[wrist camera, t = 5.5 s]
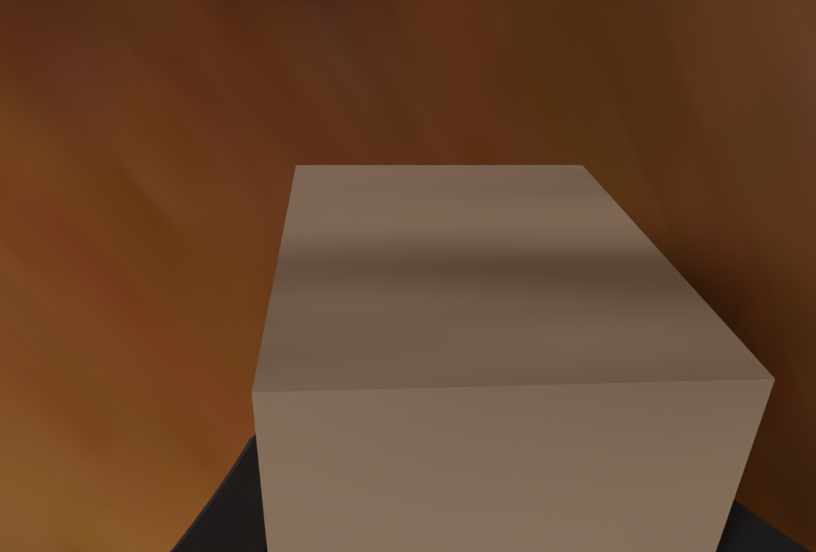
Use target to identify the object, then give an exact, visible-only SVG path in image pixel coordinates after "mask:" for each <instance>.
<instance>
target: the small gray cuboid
mask: <svg viewBox="0 0 816 552" xmlns="http://www.w3.org/2000/svg"><path fill="white" fill-rule="evenodd" d="M774 381H775V378H774V377H773V376H772V375H771V374H770V373H769V372H768V371H767V369H766V368H765V367H764V366H763V365H762V364H761V363H760V362H759V361H758V359H757V358H756V357H755V356H754V355H753V354H752V353H751V352H750V351H749V349H748V348H747V347H746V346H745V345H744V344H743V343H742V342H741V341H740V339H739V338H738V337H737V336H736V335H735V334H734V333H733V332H732V331H731V330H730V328H729V327H728V326H727V325H726V324H725V323H724V322H723V321H722V320H721V318H720V317H719V316H718V315H717V314H716V313H715V312H714V311H713V310H712V308H711V307H710V306H709V305H708V304H707V303H706V302H705V301H704V300H703V299H702V297H701V296H700V295H699V294H698V293H697V292H696V291H695V290H694V289H693V287H692V286H691V285H690V284H689V283H688V282H687V281H686V280H685V279H684V277H683V276H682V275H681V274H680V273H679V272H678V271H677V270H676V269H675V267H674V266H673V265H672V264H671V263H670V262H669V261H668V260H667V259H666V258H665V256H664V255H663V254H662V253H661V252H660V251H659V250H658V249H657V248H656V246H655V245H654V244H653V243H652V242H651V241H650V240H649V239H648V238H647V236H646V235H645V234H644V233H643V232H642V231H641V230H640V229H639V228H638V227H637V225H636V224H635V223H634V222H633V221H632V220H631V219H630V218H629V217H628V215H627V214H626V213H625V212H624V211H623V210H622V209H621V208H620V207H619V205H618V204H617V203H616V202H615V201H614V200H613V199H612V198H611V197H610V195H609V194H608V193H607V192H606V191H605V190H604V189H603V188H602V187H601V186H600V184H599V183H598V182H597V181H596V180H595V179H594V178H593V177H592V176H591V174H590V173H589V172H588V171H587V170H586V169H585V168H584V167H583V166H582V165H296V169H295V174H294V179H293V184H292V189H291V194H290V199H289V204H288V210H287V215H286V220H285V225H284V230H283V235H282V240H281V245H280V250H279V256H278V261H277V266H276V271H275V276H274V281H273V286H272V291H271V297H270V302H269V307H268V312H267V317H266V322H265V327H264V332H263V338H262V343H261V348H260V353H259V358H258V363H257V368H256V373H255V378H254V384H253V389H252V400H253V410H254V420H255V431H256V441H257V451H258V461H259V471H260V481H261V491H262V501H263V511H264V521H265V531H266V541H267V551H268V552H716V550H717V547H718V544H719V541H720V538H721V535H722V532H723V529H724V526H725V524H726V521H727V518H728V515H729V512H730V509H731V506H732V503H733V500H734V497H735V494H736V491H737V489H738V486H739V483H740V480H741V477H742V474H743V471H744V468H745V465H746V462H747V459H748V457H749V454H750V451H751V448H752V445H753V442H754V439H755V436H756V433H757V430H758V427H759V424H760V422H761V419H762V416H763V413H764V410H765V407H766V404H767V401H768V398H769V395H770V392H771V390H772V387H773V384H774Z"/></svg>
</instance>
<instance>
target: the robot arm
mask: <svg viewBox="0 0 816 552" xmlns="http://www.w3.org/2000/svg"><path fill="white" fill-rule="evenodd" d="M170 552H268V551H267V541H266V531H265V521H264V511H263V501H262V491H261V481H260V471H259V461H258V451H257V441H256V434H255V435H254V436H253V437H252V438H251V439H249V441H248V443H247V445H246V446H245V448H244V450H243V451H242V453H241V454H240V456H239V458H238V459H237V461H236V462H235V464H234V465H233V467H232V469H231V470H230V472H229V473H228V475H227V476H226V478H225V479H224V480H223V482H222V483H221V485H220V486H219V488H218V489H217V491H216V492H215V493H214V495H213V496H212V498H211V499H210V500H209V502H208V503H207V504H206V506H205V507H204V508H203V510H202V511H201V512H200V514H199V515H198V516H197V518H196V519H195V520H194V522H193V523H192V525H191V526H190V527H189V529H188V530H187V531H186V533H185V534H184V535H183V536H182V538H181V539H180V540H179V542H178V543H177V544H176V545H175V547H174V548H173V549H172V550H171V551H170ZM716 552H810V551H809V550H807V549H806V548H804V547H803V546H801V545H799V544H798V543H796V542H795V541H793V540H792V539H790V538H789V537H787V536H786V535H784V534H783V533H781V532H780V531H778V530H777V529H775V528H774V527H772V526H771V525H769V524H768V523H767V522H765V521H764V520H762V519H761V518H759V517H758V516H756V515H755V514H754V513H752V512H751V511H749V510H748V509H746V508H745V507H744V506H742V505H741V504H739V503H738V502H737V501H735V500H733V503H732V506H731V509H730V512H729V515H728V518H727V521H726V524H725V526H724V529H723V532H722V535H721V538H720V541H719V544H718V547H717V550H716Z"/></svg>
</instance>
